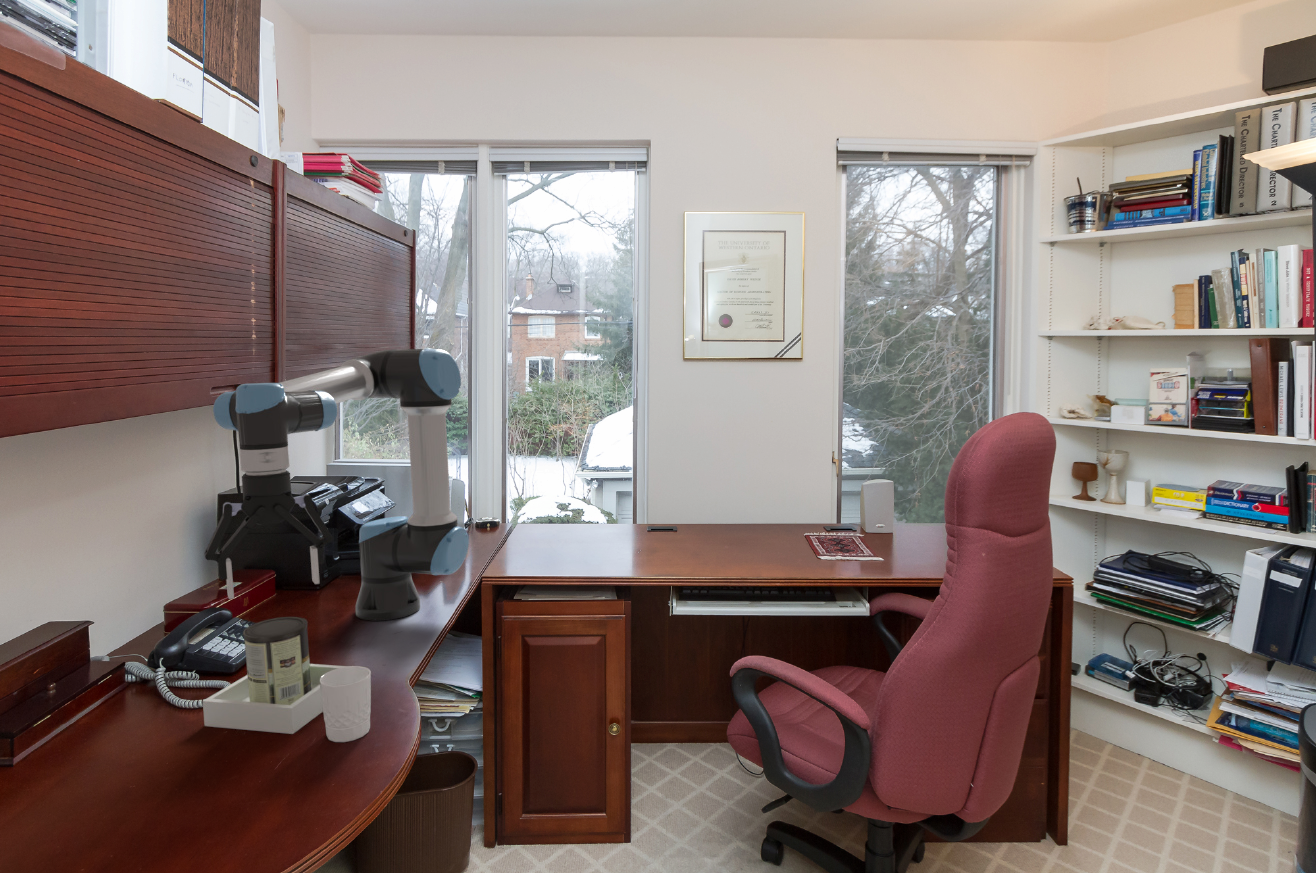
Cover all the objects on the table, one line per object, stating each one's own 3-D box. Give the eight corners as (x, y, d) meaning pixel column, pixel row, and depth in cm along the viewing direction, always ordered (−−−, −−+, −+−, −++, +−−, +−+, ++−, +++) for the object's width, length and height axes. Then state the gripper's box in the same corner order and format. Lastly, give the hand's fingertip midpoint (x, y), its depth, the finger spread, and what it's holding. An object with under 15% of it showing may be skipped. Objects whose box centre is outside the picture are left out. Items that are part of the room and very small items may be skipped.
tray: (204, 725, 128) (202, 700, 127) (272, 683, 144) (271, 660, 144) (293, 733, 125) (291, 708, 124) (352, 689, 141) (350, 666, 141)
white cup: (322, 748, 120) (319, 689, 119) (323, 726, 127) (320, 670, 126) (374, 738, 123) (371, 680, 122) (372, 717, 130) (369, 662, 129)
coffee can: (281, 685, 141) (276, 613, 139) (325, 692, 138) (320, 619, 136) (234, 710, 131) (229, 633, 130) (280, 718, 128) (275, 640, 126)
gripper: (182, 482, 120) (193, 609, 122) (346, 467, 134) (353, 581, 136) (180, 476, 126) (191, 597, 128) (337, 462, 140) (344, 571, 142)
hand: (274, 589), depth 132 cm, fingers open, 13 cm apart
